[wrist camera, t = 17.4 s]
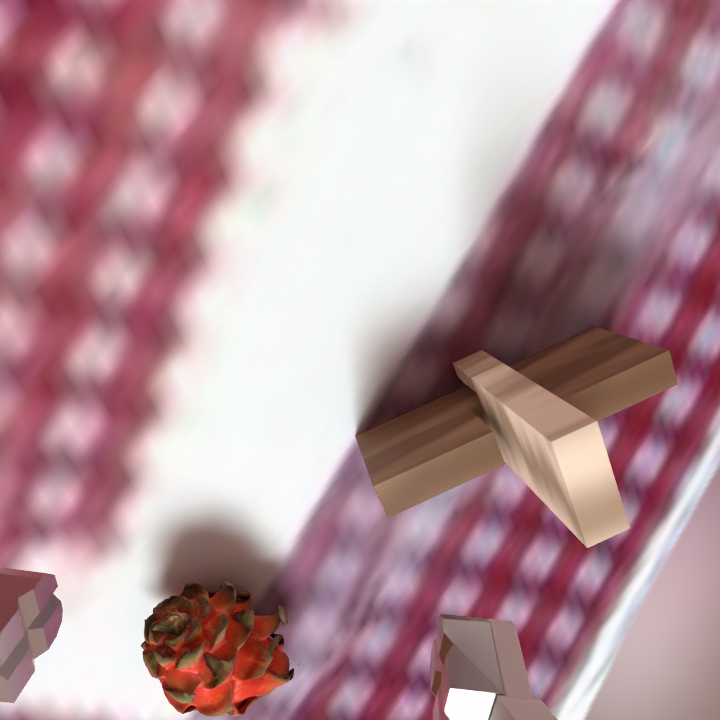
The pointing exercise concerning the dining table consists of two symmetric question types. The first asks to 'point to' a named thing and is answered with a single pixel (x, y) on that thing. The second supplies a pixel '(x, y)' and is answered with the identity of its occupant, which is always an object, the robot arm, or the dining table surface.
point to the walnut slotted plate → (470, 427)
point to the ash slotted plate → (549, 447)
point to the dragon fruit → (214, 650)
